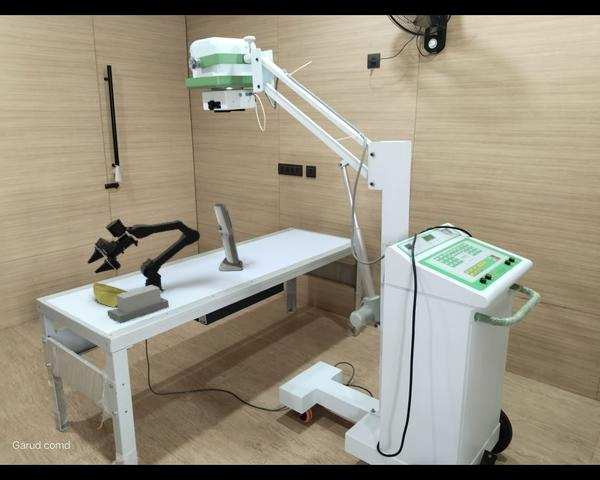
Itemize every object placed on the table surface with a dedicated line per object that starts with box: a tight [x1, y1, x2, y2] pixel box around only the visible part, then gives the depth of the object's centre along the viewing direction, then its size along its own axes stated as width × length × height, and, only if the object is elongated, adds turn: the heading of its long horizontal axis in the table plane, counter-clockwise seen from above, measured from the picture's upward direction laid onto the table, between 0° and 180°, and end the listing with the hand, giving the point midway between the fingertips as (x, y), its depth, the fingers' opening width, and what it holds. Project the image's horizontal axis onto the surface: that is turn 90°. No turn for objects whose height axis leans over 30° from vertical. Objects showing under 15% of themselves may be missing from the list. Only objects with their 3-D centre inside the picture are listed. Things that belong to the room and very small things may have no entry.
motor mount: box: [106, 285, 170, 324], centre depth 200 cm, size 22×12×9 cm, turn 137°
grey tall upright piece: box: [213, 203, 244, 272], centre depth 255 cm, size 12×13×35 cm
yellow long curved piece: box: [92, 282, 128, 308], centre depth 215 cm, size 20×7×10 cm
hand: (91, 267), depth 210 cm, fingers open, 9 cm apart
